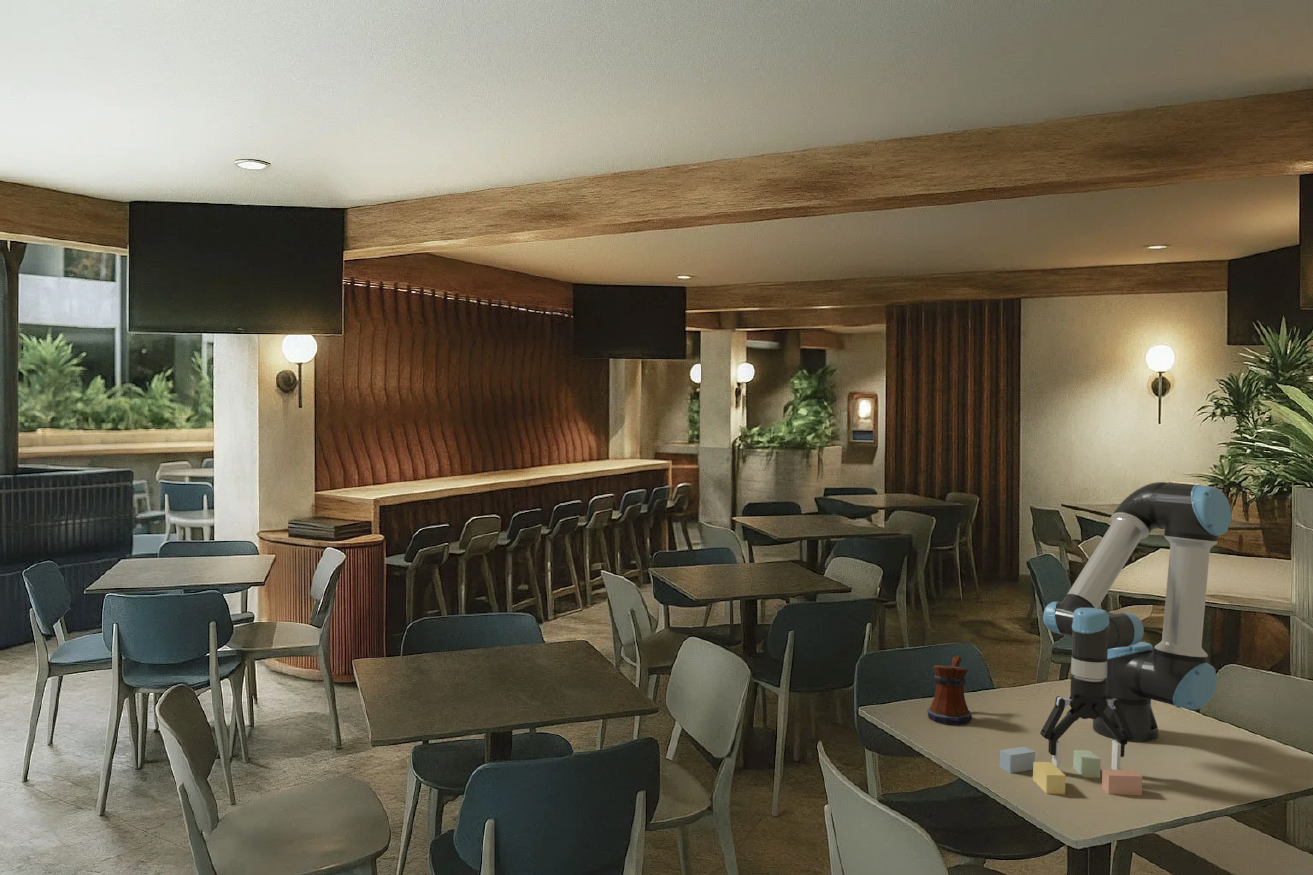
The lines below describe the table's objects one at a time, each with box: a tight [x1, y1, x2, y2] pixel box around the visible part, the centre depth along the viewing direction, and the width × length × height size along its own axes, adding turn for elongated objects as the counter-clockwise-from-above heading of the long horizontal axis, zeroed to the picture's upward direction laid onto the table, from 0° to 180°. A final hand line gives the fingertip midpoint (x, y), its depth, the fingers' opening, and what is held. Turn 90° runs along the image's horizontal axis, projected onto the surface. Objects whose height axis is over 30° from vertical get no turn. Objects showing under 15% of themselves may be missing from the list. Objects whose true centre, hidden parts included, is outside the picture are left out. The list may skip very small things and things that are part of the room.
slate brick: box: [998, 746, 1036, 774], centre depth 230 cm, size 7×4×4 cm, turn 111°
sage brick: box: [1072, 749, 1102, 779], centre depth 228 cm, size 6×4×4 cm, turn 0°
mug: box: [926, 655, 973, 726], centre depth 269 cm, size 18×12×15 cm, turn 154°
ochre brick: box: [1032, 761, 1066, 795], centre depth 219 cm, size 8×4×4 cm, turn 179°
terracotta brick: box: [1101, 768, 1143, 796], centre depth 217 cm, size 7×4×4 cm, turn 87°
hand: (1085, 769), depth 227 cm, fingers open, 13 cm apart
